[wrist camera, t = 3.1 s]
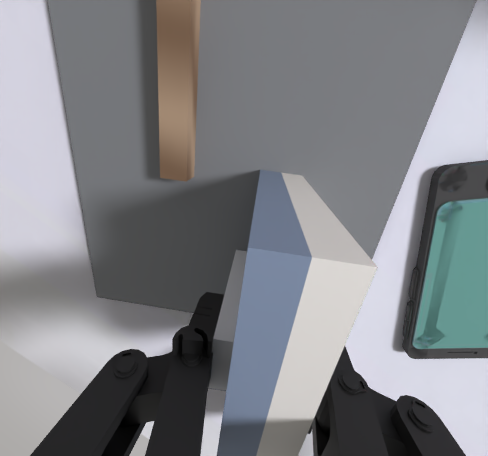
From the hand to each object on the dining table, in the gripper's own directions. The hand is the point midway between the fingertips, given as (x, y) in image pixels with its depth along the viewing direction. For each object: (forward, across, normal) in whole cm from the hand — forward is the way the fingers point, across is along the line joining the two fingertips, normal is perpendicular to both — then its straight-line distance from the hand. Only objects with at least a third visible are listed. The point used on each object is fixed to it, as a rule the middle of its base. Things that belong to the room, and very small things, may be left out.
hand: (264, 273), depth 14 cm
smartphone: (+3, -14, -1) cm, 14 cm away
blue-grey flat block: (+2, 0, 0) cm, 2 cm away
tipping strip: (+2, +6, -11) cm, 13 cm away
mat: (+2, +3, -6) cm, 7 cm away
